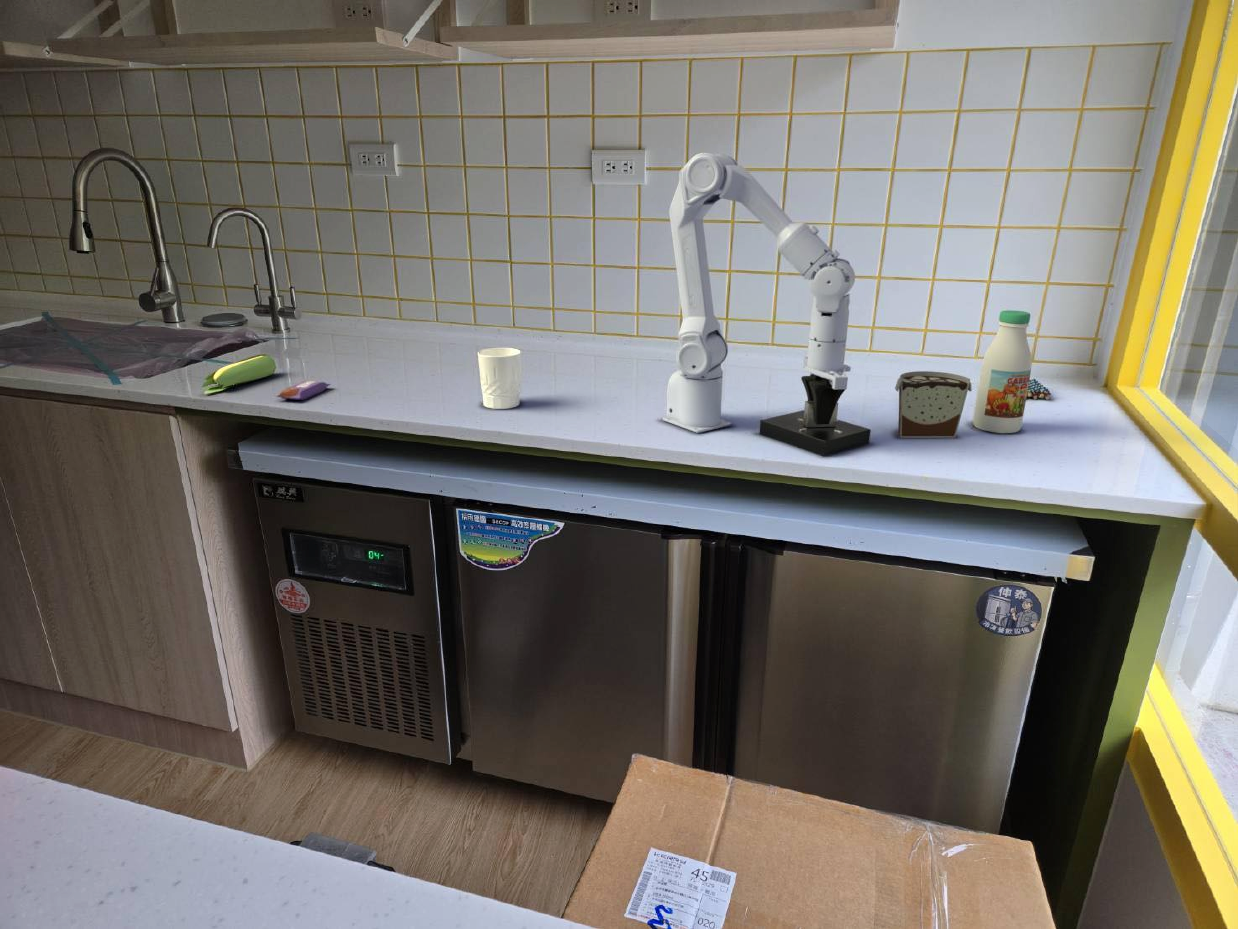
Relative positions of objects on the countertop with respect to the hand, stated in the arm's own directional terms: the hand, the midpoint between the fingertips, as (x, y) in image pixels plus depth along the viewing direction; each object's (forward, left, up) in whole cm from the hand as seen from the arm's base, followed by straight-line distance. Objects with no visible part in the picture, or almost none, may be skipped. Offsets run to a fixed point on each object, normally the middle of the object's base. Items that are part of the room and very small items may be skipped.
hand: (819, 421), depth 133 cm
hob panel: (-1, 0, -3) cm, 3 cm away
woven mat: (+2, +57, -3) cm, 57 cm away
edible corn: (-93, -68, -3) cm, 115 cm away
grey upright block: (0, 0, -1) cm, 1 cm away
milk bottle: (+13, +31, -3) cm, 34 cm away
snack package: (-77, -60, -3) cm, 98 cm away
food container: (+7, +18, -3) cm, 20 cm away
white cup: (-49, -32, -3) cm, 59 cm away
